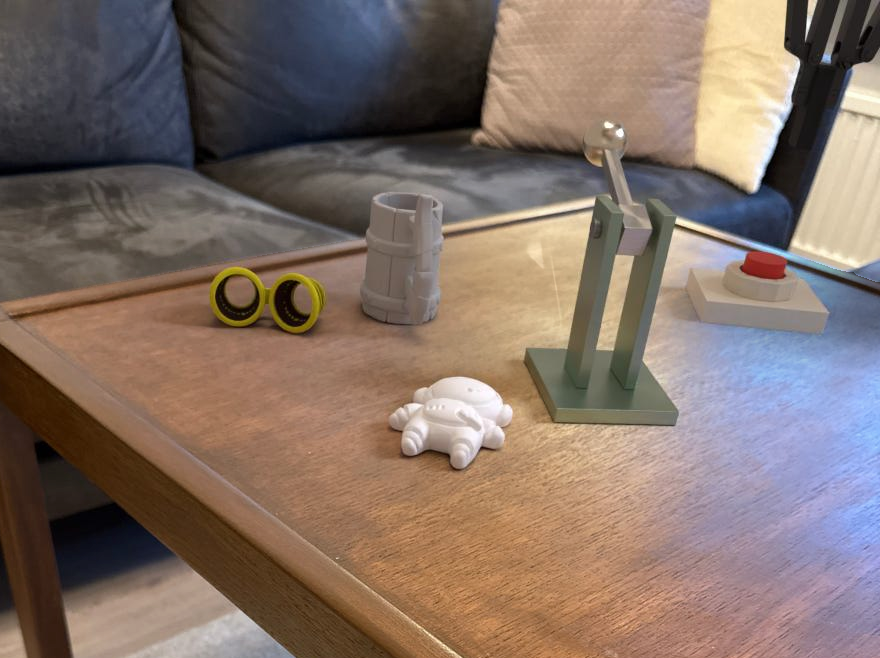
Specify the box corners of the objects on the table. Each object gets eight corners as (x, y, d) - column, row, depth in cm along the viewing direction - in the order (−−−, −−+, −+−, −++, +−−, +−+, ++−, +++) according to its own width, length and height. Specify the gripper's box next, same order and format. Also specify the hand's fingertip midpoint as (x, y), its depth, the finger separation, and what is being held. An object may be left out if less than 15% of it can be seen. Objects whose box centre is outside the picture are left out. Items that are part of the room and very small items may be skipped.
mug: (427, 295, 97) (439, 164, 90) (460, 343, 88) (477, 202, 81) (351, 296, 95) (357, 162, 88) (378, 344, 86) (387, 201, 79)
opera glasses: (325, 327, 91) (328, 270, 88) (317, 337, 86) (320, 277, 84) (222, 316, 91) (222, 259, 89) (208, 325, 86) (208, 265, 84)
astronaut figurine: (367, 447, 71) (369, 409, 70) (429, 388, 80) (432, 352, 78) (479, 478, 69) (485, 439, 67) (530, 413, 78) (537, 377, 76)
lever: (574, 148, 82) (586, 106, 79) (616, 150, 82) (629, 109, 79) (603, 261, 75) (618, 220, 72) (649, 263, 75) (665, 222, 72)
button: (776, 271, 100) (782, 253, 99) (786, 284, 97) (791, 266, 96) (737, 267, 100) (742, 249, 99) (745, 280, 97) (750, 262, 96)
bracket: (523, 360, 86) (552, 180, 77) (633, 363, 87) (674, 186, 78) (554, 422, 77) (591, 226, 68) (676, 425, 78) (728, 233, 69)
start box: (797, 299, 105) (809, 261, 102) (821, 334, 97) (836, 294, 94) (685, 288, 105) (694, 250, 102) (700, 322, 97) (711, 282, 94)
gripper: (829, -195, 74) (737, 148, 88) (1003, -178, 73) (882, 163, 88) (804, -191, 79) (722, 130, 94) (965, -175, 79) (857, 144, 94)
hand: (799, 146), depth 91 cm, fingers closed
